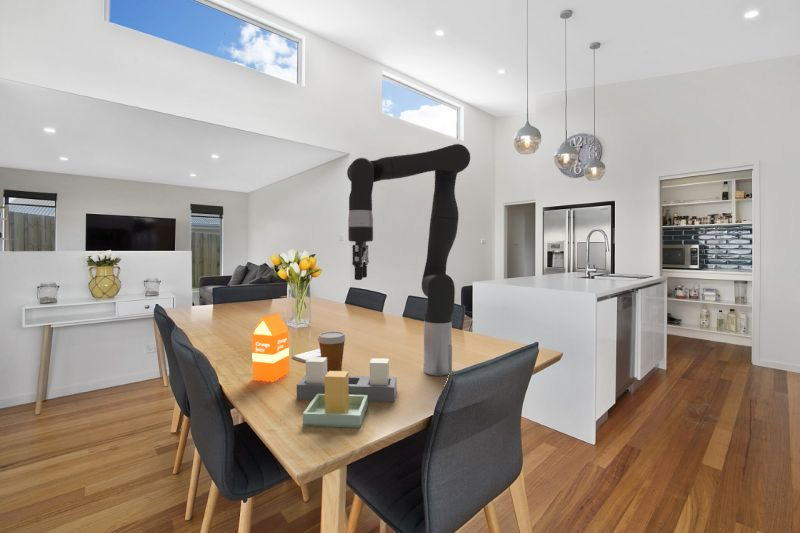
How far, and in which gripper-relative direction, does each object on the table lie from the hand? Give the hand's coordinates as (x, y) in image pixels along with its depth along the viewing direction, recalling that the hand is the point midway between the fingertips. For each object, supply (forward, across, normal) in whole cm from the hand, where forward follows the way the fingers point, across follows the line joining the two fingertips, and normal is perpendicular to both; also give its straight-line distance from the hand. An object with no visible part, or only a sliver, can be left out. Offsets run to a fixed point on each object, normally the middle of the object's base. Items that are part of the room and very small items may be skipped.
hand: (361, 278), depth 114 cm
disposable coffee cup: (+32, +10, +12) cm, 36 cm away
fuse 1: (+32, -11, +11) cm, 36 cm away
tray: (+32, -24, +2) cm, 40 cm away
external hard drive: (+33, +24, +23) cm, 47 cm away
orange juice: (+32, +2, +30) cm, 44 cm away
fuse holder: (+32, -11, +2) cm, 34 cm away
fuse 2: (+32, -11, -7) cm, 35 cm away
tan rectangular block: (+32, -24, +2) cm, 40 cm away
